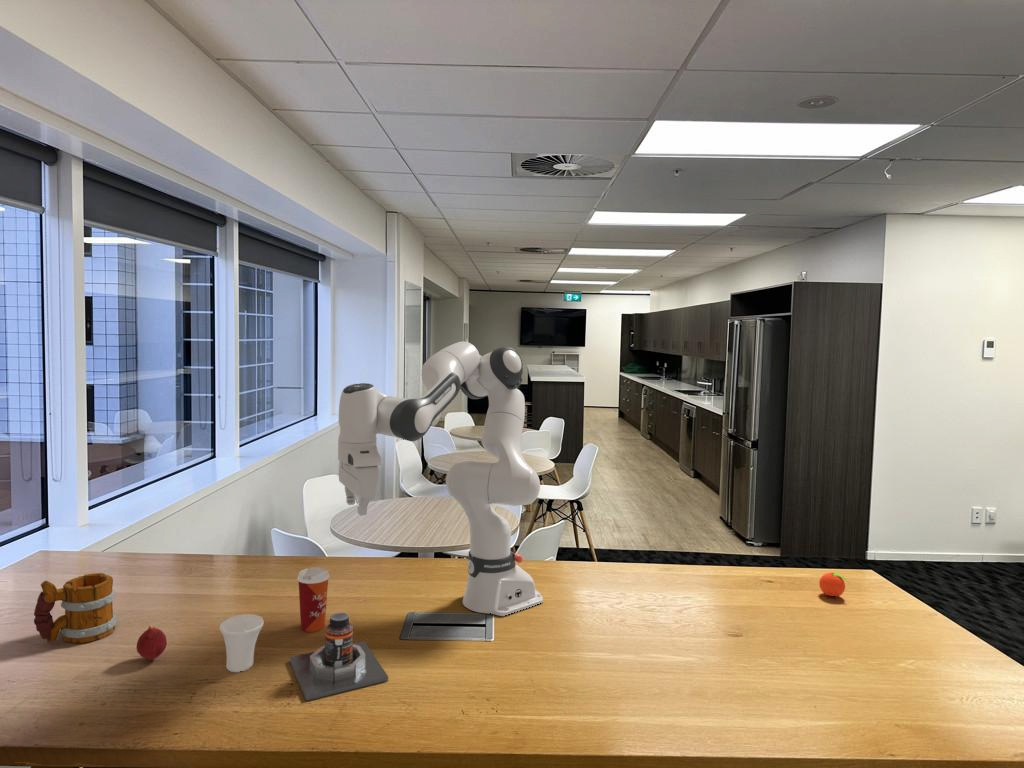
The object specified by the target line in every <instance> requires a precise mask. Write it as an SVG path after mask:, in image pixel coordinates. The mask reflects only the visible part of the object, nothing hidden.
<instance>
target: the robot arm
mask: <svg viewBox="0 0 1024 768" xmlns="http://www.w3.org/2000/svg"><path fill="white" fill-rule="evenodd" d="M523 365H524V364H523V360H522V357H521V356H520V354H519V353H518V352H517V351H516V350H515V349H514V348H513V347H510V346H502V347H497V348H495V349H493V350H492V351H490V352H488V353H486V354H484V355H481V354H480V352H479V350H478V349H477V348H476V346H475V345H474V344H472V343H470V342H469V341H459V342H455V343H453V344H450V345H448V346H446V347H444V348H442V349H441V350H438V351H437V352H435V353H434V354H432V355H431V356H430V357H429V358H428V359H427V360H426V361H425V362H424V363H423V365H422V368H421V379H422V382H423V384H424V386H425V388H426V389H427V390H428V391H427V392H426V393H425V394H423V396H421V397H418V398H404V397H399V396H398V397H396V396H392V395H391V396H390V395H388V394H385V393H383V392H381V391H379V390H378V389H376V388H375V386H374V384H373V383H367V382H365V383H364V382H362V383H360V382H359V383H354V384H350V385H346V387H344V388H343V389H342V391H341V394H340V398H339V405H338V426H339V435H338V440H337V441H338V442H337V446H338V447H337V450H338V451H337V460H338V461H339V462H338V463H339V464H338V481H339V483H340V484H342V485H343V486H344V492H345V496H346V497H345V499H346V501H345V502H346V504H347V505H349V506H352V505H353V506H354V505H355V504H356V497H357V498H358V506H357V514H358V515H359V516H366V515H367V514H368V513H367V512H368V505H369V503H370V500H375V499H376V498H377V496H378V492H379V489H378V488H379V480H380V479H379V477H380V470H379V466H381V465H382V457H381V455H380V453H379V451H378V447H377V434H378V435H383V436H388V437H393V438H398V439H402V440H404V441H407V442H408V441H409V442H417V441H418V440H421V438H423V437H424V436H426V434H427V433H428V431H429V430H430V428H431V426H432V424H433V423H434V422H435V420H436V419H437V418H438V416H440V415H441V414H442V412H444V410H445V409H446V408H447V407H448V406H449V405H450V404H451V403H452V401H453V400H455V398H456V397H457V395H458V394H459V392H460V390H461V392H462V393H463V394H464V395H465V396H466V397H467V398H469V399H471V400H479V399H484V398H485V397H487V398H488V407H487V408H488V409H487V412H486V416H485V420H484V425H483V430H482V435H481V445H482V446H483V448H484V450H485V451H486V452H487V453H488V454H490V455H491V456H493V457H494V458H495V459H497V460H498V461H497V462H487V461H486V462H485V461H484V462H483V461H472V460H471V461H461V462H455V463H454V464H452V465H451V467H449V470H448V472H447V473H446V477H445V486H446V491H448V494H449V495H450V496H451V497H452V499H454V500H455V501H457V503H458V504H459V505H460V506H461V508H462V509H463V511H464V513H465V515H466V517H467V521H468V523H469V526H468V527H469V540H470V541H469V543H470V544H469V551H468V556H467V572H468V577H467V582H466V587H465V591H464V594H463V598H462V605H463V606H464V608H465V607H466V608H467V609H468V610H470V611H473V612H477V613H480V614H489V615H490V613H491V615H495V616H499V617H506V616H505V615H507V616H509V615H508V614H510V615H512V614H511V613H513V614H515V613H517V611H518V612H521V611H523V609H524V610H527V609H529V607H530V608H533V607H535V605H536V606H538V605H537V604H539V605H540V603H541V604H543V603H544V598H543V595H542V594H541V593H540V591H538V590H537V589H536V585H535V581H534V579H533V577H532V575H530V574H529V573H528V572H527V571H525V570H524V569H523V568H521V567H520V566H519V565H518V564H521V563H522V561H524V557H523V556H522V555H521V554H519V553H516V552H514V551H512V550H511V548H512V547H511V546H512V544H511V543H512V528H511V525H510V523H509V521H508V520H507V519H506V518H505V517H503V516H502V515H500V514H498V513H497V512H496V511H495V509H494V508H493V506H492V505H500V506H501V505H502V506H509V507H510V506H512V507H516V506H517V507H518V506H526V505H532V504H533V503H534V502H535V501H536V500H537V498H538V497H539V494H540V491H541V481H540V477H539V475H538V473H537V472H536V470H535V469H534V468H532V466H530V465H529V464H528V463H527V461H526V460H525V458H524V456H523V452H522V437H523V436H522V435H523V431H524V430H523V429H524V423H525V415H526V402H525V400H526V399H525V395H524V393H523V392H522V391H521V390H520V389H518V388H519V387H520V386H521V385H522V382H523V373H524V366H523ZM516 563H518V564H516ZM542 602H543V603H542ZM532 606H533V607H532ZM526 608H527V609H526ZM520 610H521V611H520ZM514 612H515V613H514Z"/></svg>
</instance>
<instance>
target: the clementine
mask: <svg viewBox="0 0 1024 768" xmlns="http://www.w3.org/2000/svg"><path fill="white" fill-rule="evenodd" d="M818 582H819V589H820V590H821V592H822V593H823V594H824V595H826V596H827V595H829V596H828V597H830V596H836V597H835V598H838V597H840V596H841V595H843V594H844V592H845V590H846V583H845V582H847V583H848V585H849V586H850V583H849V581H848V579H847V578H845V577H844V576H842V575H841V574H839V573H835V572H827V573H823V575H822V576H821V577H820V579H819V581H818ZM837 596H838V597H837Z"/></svg>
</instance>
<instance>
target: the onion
mask: <svg viewBox="0 0 1024 768" xmlns="http://www.w3.org/2000/svg"><path fill="white" fill-rule="evenodd" d="M167 642H168V641H167V635H166V634H165V633H164V632H163V630H161V629H159V628H156V627H155V626H154V625H153V624H149V626H148V628H147V629H146V630H144V631H143V633H141V635H140V636H139V637H138V639H137V642H136V646H135V647H136V648H135V649H136V652H137V653H138V654H139V655H140V657H142V658H143V659H144V660H145V659H146V660H148V661H153V660H155V659H157V658H158V657H159V656H161V654H163V652H164V651H165V650H166V648H167V645H168V643H167Z"/></svg>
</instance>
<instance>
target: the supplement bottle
mask: <svg viewBox="0 0 1024 768" xmlns="http://www.w3.org/2000/svg"><path fill="white" fill-rule="evenodd" d="M353 644H354V626H353V624H352V623H350V615H349V614H348V613H345V612H337V613H332V614H331V615H330V616H329V624H328V625H327V626H326V627H325V629H324V646H325V660H324V665H325V666H330V667H339V666H343V665H347V664H352V658H353V657H352V654H353Z"/></svg>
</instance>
